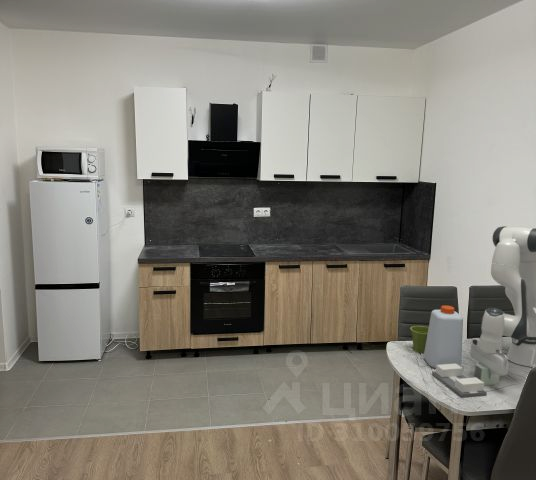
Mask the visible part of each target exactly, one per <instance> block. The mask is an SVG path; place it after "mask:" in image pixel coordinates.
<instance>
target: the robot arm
mask: <svg viewBox="0 0 536 480" xmlns="http://www.w3.org/2000/svg"><path fill="white" fill-rule="evenodd" d="M492 243H493V246H494V247H495V249H494V251H493V256H492V260H491V266H490V275H491V278H492V279H493V280H494V281H495V282H496V283H497V284H499V285H500V286H503V288H505V289H504V292H505V295H506V297H507V298H508V300H509V301H510V303H511V304H512V308H513V312H514V315H513V314H509V313H505V312H504V311H503V310H502V309H500V308H497V307H488V308H487V309H485V310H484V314H483V315H481V321H480V328H481V334H480V337H475V338H472V339H471V344H470V345H471V346H470V350H469V356H470V357H471V359H473V360H475V361H476V362H478V363H477V364H483V365H484V366H486V367H488V368H489V369H491V372H492V373H491V374H489V378H490V379H491V380H494V378H495V375H496V374H498V375H499V376H507V375H508V374H509V361H510V362H511V363H514V364H516V365H520V366H523V367H524V366H525V367H528V368H529V367H530V368H533V367H536V311H535V309H536V228H535V227H533V228H531V227H525V226H506V225H505V226H503V225H502V226H498V227H497V228H496V229H495V230H494V231H493V233H492ZM503 337H507V338H511V341H510V345H509V349H508V351H507V354H506V353H504V352H502V350H503V341H504V339H503Z"/></svg>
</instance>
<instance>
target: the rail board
mask: <svg viewBox="0 0 536 480" xmlns="http://www.w3.org/2000/svg"><path fill="white" fill-rule="evenodd" d="M463 371H464V368H463V367H462V366H461V367H460V366H459V365H457V364H442V365H436V368H435V371H432V372H431V375H432V376H433V377H434V378H435V379H436V380H437V381H439V382H440V383H441V384H443V385H444V386H445V387H446V388H448V389H449V390H450V391H451V392H453V393H454V394H455V395H457V396H458V397H460V398H461V399H464V398H475V397H486V396H488V395H487V391H486V390H485V389H484V387H485V385H484V382H482V381H481V380H479V379H478V378H474V377H467V376H465V375H463Z"/></svg>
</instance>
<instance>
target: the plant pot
mask: <svg viewBox="0 0 536 480" xmlns="http://www.w3.org/2000/svg"><path fill="white" fill-rule="evenodd" d="M409 329H410V331H411V337H412V338H411V339H412V346H413V347H412V348H413V351H415V352H416V353H418V354H424V351H425V346H426V340H427V334H428V329H429V326H426V325H425V326H424V325H413V326H410V328H409Z"/></svg>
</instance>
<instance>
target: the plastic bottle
mask: <svg viewBox="0 0 536 480" xmlns="http://www.w3.org/2000/svg"><path fill="white" fill-rule="evenodd" d="M428 327H429V329H428V334H427V340H426V346H425V351H424V353H423V359H424V361H426V363H427V364H428V365H429V366H430V367H431V368H433V369H436V365H442V364H457V365H459V366H460V367H462V359H463V337H464V336H463V331H464V318H463V316H462V315H461V314H460V313H458V312H457V311H455V307H453V306H452V305H441V306H440V309H433V310H432V311H431V313H430V318H429V325H428Z"/></svg>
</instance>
